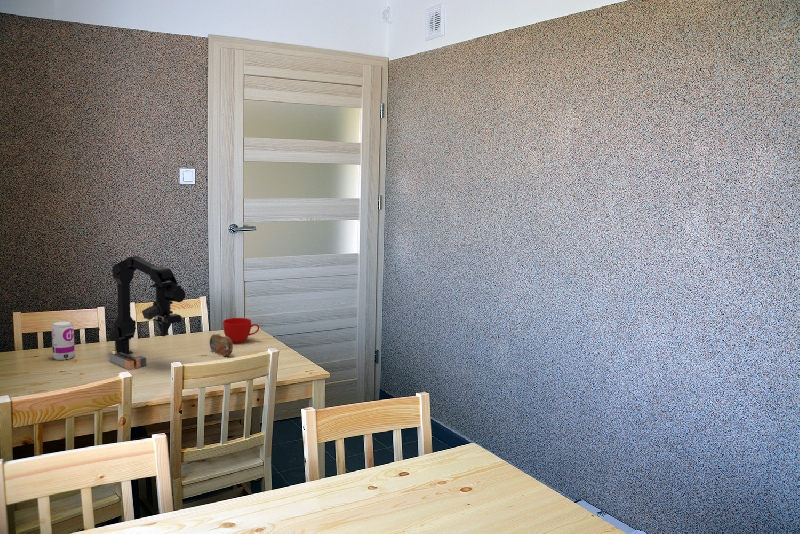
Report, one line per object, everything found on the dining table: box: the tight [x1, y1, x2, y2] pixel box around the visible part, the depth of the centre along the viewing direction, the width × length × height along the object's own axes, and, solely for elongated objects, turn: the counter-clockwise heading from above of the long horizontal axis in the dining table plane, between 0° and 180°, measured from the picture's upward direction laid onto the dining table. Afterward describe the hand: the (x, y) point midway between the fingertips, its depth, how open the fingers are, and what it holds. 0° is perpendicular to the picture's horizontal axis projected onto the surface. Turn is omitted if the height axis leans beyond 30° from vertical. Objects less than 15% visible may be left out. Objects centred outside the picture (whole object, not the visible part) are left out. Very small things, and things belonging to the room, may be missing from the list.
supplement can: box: [51, 320, 76, 361], centre depth 283 cm, size 8×8×15 cm
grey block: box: [135, 355, 147, 368], centre depth 277 cm, size 4×3×3 cm
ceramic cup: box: [222, 317, 260, 344], centre depth 319 cm, size 13×17×10 cm
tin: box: [209, 333, 234, 357], centre depth 298 cm, size 15×3×8 cm, turn 47°
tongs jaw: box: [117, 352, 141, 369], centre depth 278 cm, size 14×2×3 cm, turn 52°
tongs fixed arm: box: [109, 349, 135, 371], centre depth 278 cm, size 18×3×4 cm, turn 50°
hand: (163, 336), depth 278 cm, fingers closed
